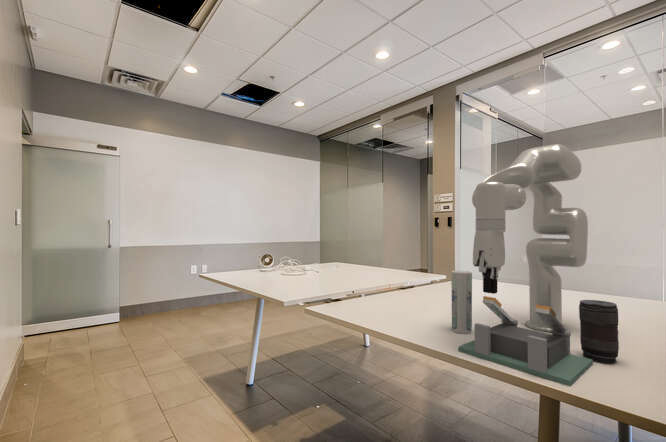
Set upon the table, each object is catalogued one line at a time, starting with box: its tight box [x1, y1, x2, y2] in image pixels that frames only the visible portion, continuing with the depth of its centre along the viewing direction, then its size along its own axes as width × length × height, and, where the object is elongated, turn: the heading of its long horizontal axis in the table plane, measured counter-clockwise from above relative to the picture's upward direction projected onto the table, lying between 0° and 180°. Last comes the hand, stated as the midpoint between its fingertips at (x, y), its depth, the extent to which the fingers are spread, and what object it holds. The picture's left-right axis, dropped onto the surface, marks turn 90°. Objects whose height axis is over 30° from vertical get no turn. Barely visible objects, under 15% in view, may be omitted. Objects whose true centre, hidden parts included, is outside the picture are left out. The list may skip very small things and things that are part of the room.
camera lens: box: [578, 299, 620, 365], centre depth 86 cm, size 8×8×15 cm
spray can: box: [450, 270, 473, 335], centre depth 109 cm, size 6×6×20 cm
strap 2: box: [535, 305, 566, 334], centre depth 82 cm, size 14×3×2 cm
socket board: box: [457, 319, 594, 387], centre depth 86 cm, size 19×26×9 cm
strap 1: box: [482, 295, 514, 323], centre depth 92 cm, size 14×3×2 cm
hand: (490, 292), depth 89 cm, fingers closed
